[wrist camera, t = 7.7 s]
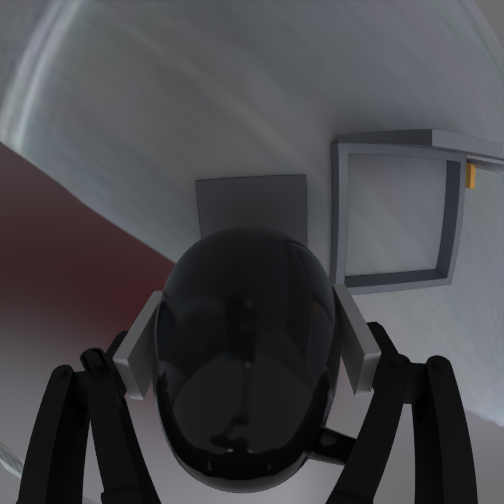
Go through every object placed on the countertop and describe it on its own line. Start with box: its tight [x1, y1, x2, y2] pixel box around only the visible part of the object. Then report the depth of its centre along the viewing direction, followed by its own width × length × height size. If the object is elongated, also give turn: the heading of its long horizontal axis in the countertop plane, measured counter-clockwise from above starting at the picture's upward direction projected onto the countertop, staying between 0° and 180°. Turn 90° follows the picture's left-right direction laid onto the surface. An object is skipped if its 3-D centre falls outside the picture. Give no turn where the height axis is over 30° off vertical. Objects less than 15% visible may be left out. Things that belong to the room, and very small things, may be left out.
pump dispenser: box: [151, 227, 357, 493], centre depth 14 cm, size 10×10×15 cm
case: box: [330, 129, 504, 295], centre depth 22 cm, size 18×18×20 cm
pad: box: [195, 175, 307, 247], centre depth 33 cm, size 12×12×1 cm
